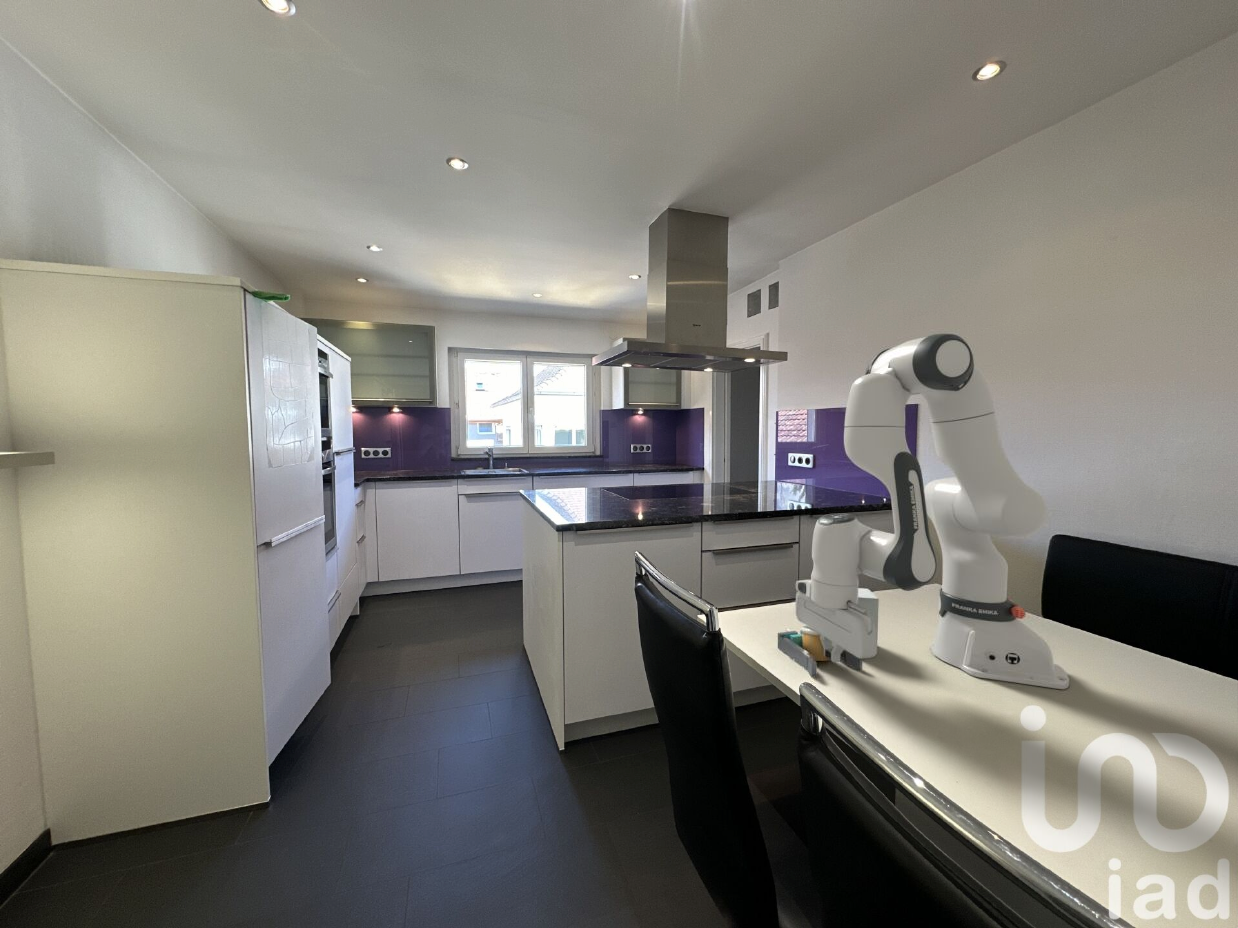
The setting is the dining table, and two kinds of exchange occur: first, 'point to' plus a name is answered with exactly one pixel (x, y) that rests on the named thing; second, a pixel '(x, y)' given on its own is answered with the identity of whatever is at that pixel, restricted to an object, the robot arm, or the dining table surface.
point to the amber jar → (813, 643)
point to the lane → (807, 659)
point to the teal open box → (796, 638)
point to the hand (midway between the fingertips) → (831, 659)
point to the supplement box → (869, 605)
